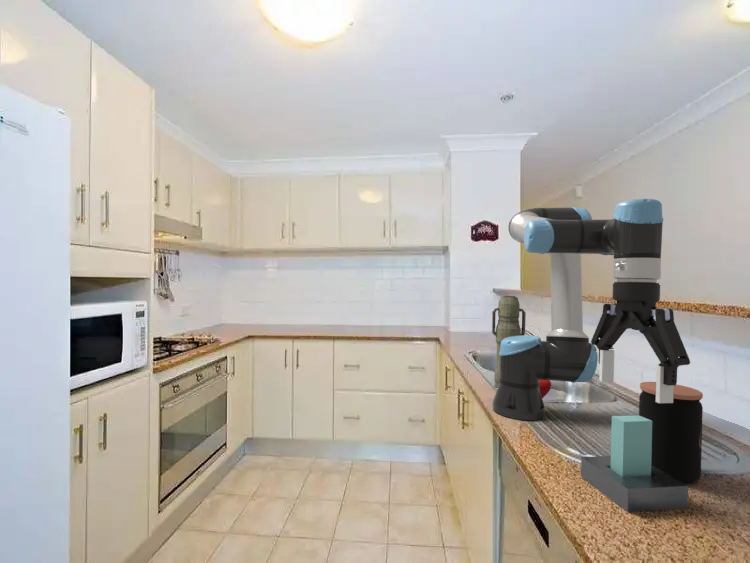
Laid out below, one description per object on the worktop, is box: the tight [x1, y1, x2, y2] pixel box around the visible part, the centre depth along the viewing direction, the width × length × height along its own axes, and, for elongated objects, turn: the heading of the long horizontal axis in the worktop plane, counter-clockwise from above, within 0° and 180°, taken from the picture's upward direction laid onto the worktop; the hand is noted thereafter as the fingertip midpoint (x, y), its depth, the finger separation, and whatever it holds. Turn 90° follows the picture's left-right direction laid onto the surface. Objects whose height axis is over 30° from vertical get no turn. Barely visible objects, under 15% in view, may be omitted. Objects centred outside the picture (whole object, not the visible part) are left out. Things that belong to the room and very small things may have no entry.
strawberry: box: [539, 380, 552, 400], centre depth 130 cm, size 6×8×10 cm
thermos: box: [491, 295, 526, 389], centre depth 142 cm, size 9×12×35 cm
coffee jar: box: [638, 381, 704, 485], centre depth 80 cm, size 11×11×18 cm
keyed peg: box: [610, 414, 652, 477], centre depth 72 cm, size 6×3×14 cm, turn 98°
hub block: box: [580, 455, 689, 513], centre depth 72 cm, size 12×12×4 cm
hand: (632, 391), depth 72 cm, fingers open, 13 cm apart
